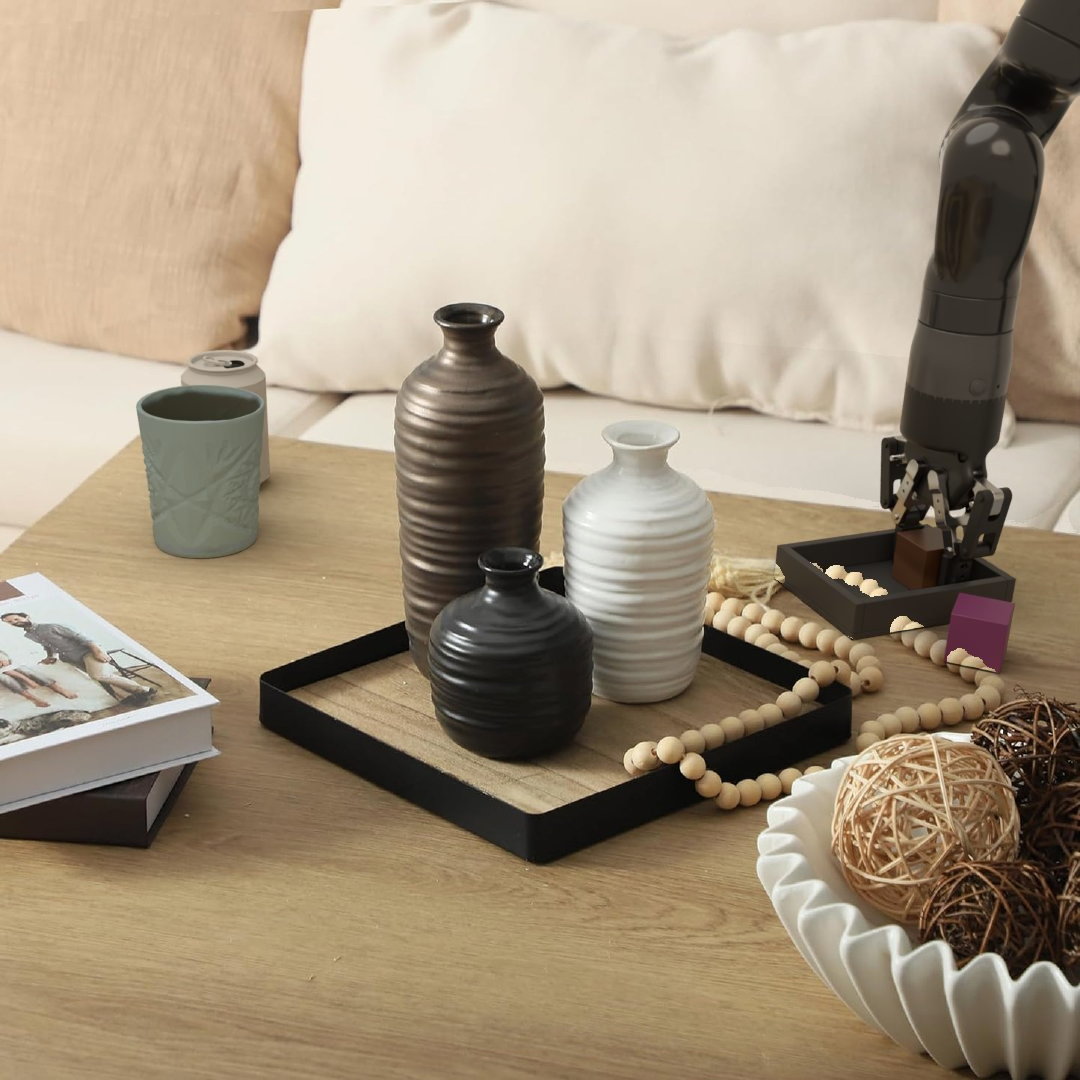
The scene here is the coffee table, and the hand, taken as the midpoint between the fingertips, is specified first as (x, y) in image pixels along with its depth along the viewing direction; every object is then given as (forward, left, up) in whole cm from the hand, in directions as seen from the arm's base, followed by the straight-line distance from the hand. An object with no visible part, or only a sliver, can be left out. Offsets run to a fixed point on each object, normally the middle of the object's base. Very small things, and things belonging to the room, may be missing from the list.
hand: (926, 580), depth 119 cm
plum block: (+3, +11, -1) cm, 12 cm away
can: (+48, -40, -1) cm, 63 cm away
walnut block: (0, 0, 0) cm, 0 cm away
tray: (+3, 0, -1) cm, 4 cm away
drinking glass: (+52, -28, -1) cm, 60 cm away
